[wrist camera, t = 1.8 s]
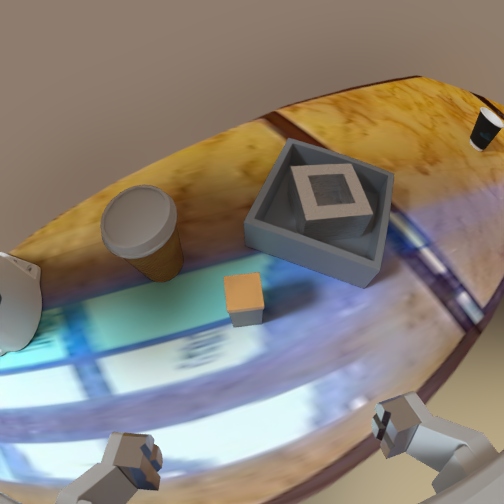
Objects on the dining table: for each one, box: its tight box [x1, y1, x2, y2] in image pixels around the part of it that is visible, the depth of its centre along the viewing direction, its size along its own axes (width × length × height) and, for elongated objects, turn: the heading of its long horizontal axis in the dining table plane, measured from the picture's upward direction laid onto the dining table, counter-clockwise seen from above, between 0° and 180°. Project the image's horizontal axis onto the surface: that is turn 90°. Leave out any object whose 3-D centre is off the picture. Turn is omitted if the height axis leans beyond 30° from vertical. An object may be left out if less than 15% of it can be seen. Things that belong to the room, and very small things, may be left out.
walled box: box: [244, 138, 394, 289], centre depth 41 cm, size 18×18×6 cm
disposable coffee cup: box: [100, 185, 183, 282], centre depth 35 cm, size 10×10×12 cm
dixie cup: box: [470, 107, 504, 152], centre depth 51 cm, size 8×8×11 cm
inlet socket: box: [287, 164, 373, 242], centre depth 40 cm, size 9×9×6 cm
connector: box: [224, 272, 264, 327], centre depth 33 cm, size 4×4×8 cm
